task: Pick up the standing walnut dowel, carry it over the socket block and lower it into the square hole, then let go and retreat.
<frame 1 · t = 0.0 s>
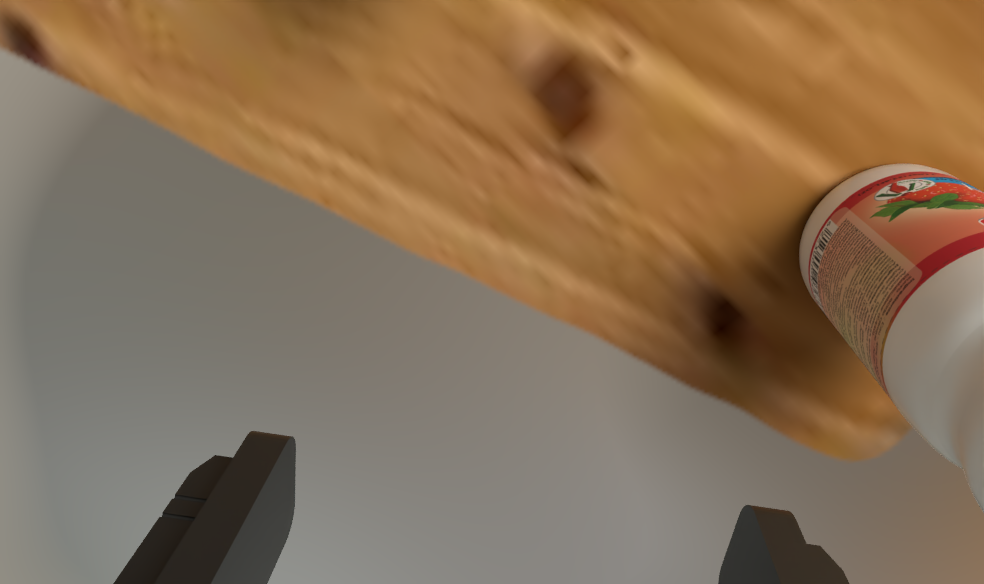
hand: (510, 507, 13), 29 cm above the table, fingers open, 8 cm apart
fruit juice: (880, 240, 41), on the table
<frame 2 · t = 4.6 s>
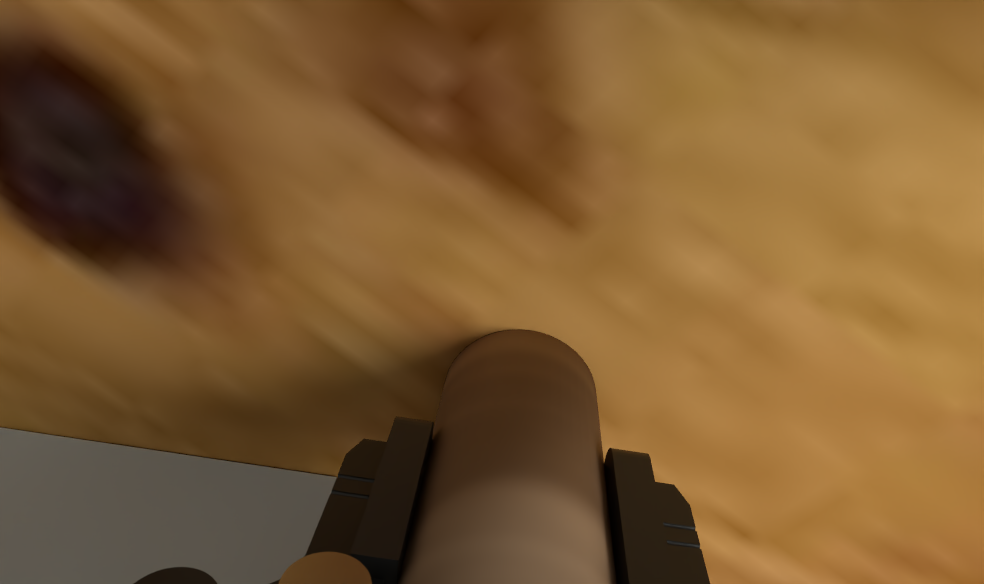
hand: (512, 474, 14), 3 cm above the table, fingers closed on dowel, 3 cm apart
dowel: (519, 397, 16), on the table, touching gripper
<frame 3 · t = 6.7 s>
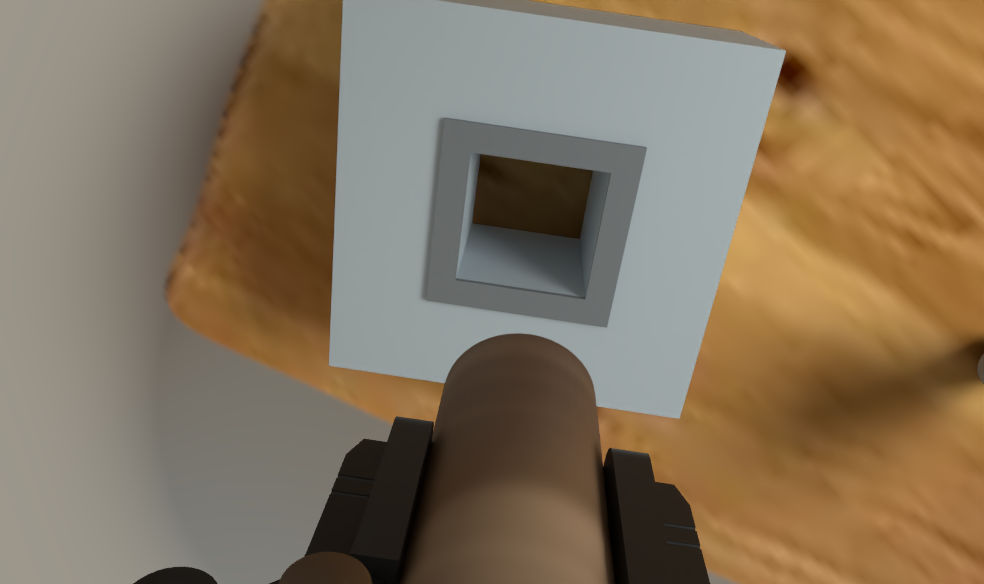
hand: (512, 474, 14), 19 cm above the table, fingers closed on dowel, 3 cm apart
socket block: (534, 178, 31), on the table
dowel: (518, 400, 16), point 17 cm above the table, touching gripper
when the fingers open (7 cm above the table, at t = 9.1 s): dowel drops 4 cm, resting in socket block.
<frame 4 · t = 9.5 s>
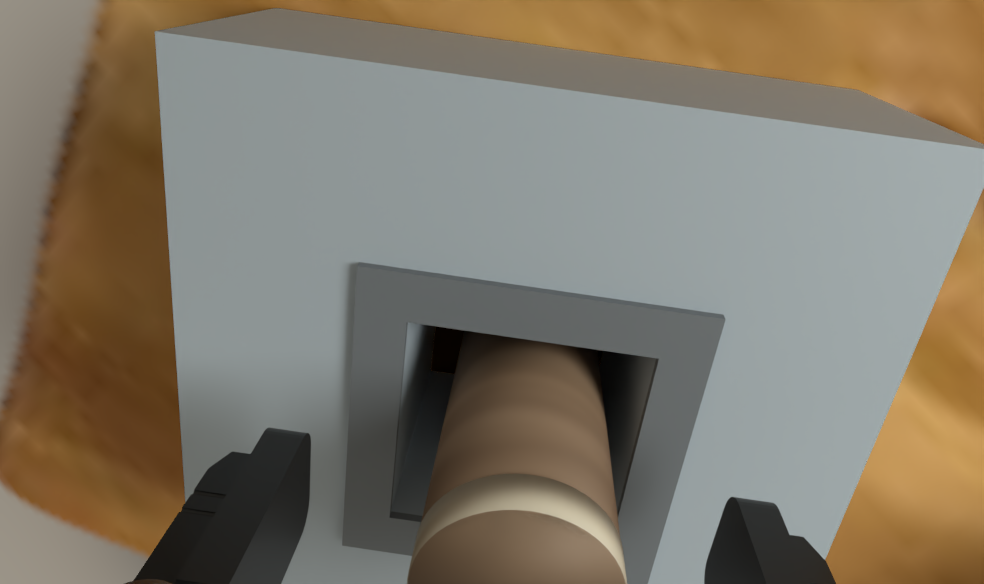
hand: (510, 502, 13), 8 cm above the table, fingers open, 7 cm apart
socket block: (523, 309, 20), on the table
dowel: (530, 312, 20), resting in socket block
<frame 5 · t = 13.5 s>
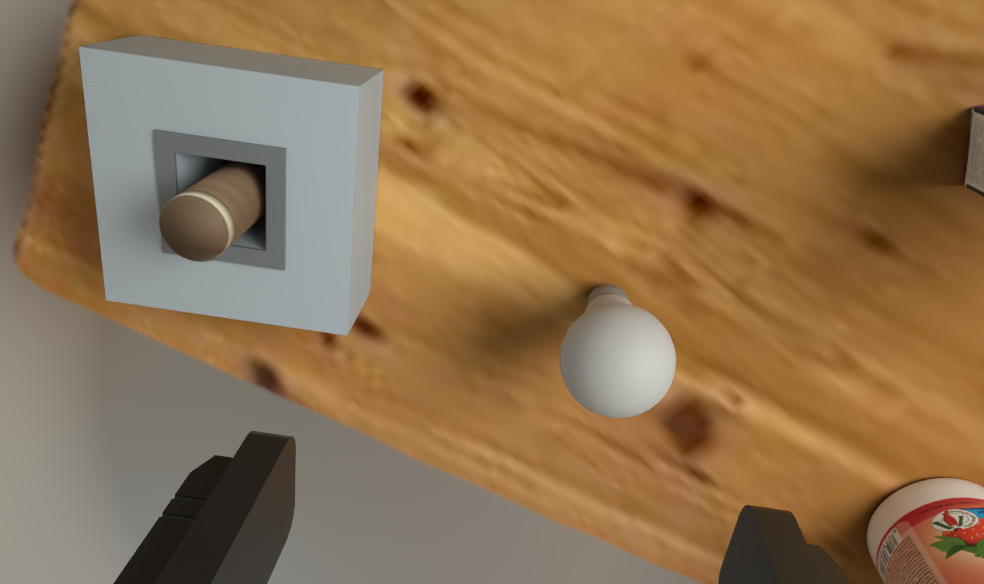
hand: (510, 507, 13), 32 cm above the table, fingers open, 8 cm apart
socket block: (262, 171, 44), on the table
lightbulb: (606, 296, 47), on the table
fruit juice: (930, 524, 52), on the table
dowel: (266, 173, 45), resting in socket block
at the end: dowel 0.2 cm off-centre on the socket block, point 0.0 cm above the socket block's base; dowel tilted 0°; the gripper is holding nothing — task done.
